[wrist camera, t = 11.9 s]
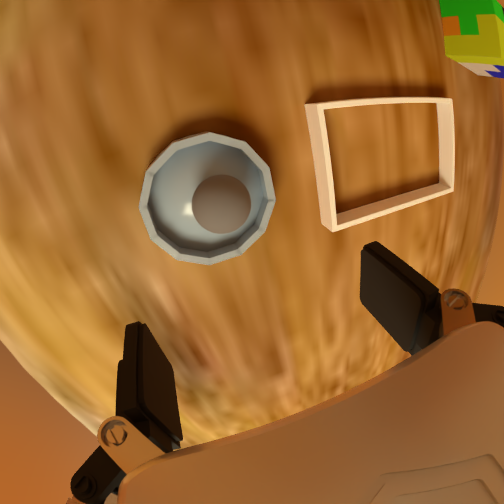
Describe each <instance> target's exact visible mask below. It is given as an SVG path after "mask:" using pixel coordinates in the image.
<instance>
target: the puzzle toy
mask: <svg viewBox="0 0 504 504" xmlns="http://www.w3.org/2000/svg"><path fill="white" fill-rule="evenodd" d="M439 3H440V9H441V16H442V23H443V32H444V42H445V55H446V56H447V57H449V58H451V59H453V60H454V61H456V62H458V63H460V64H461V65H463V66H465V67H466V68H468V69H469V70H471V71H473V72H474V73H476V74H477V75H482V76H491V77H498V78H504V8H503V7H502V6H501V5H500V4H499V3H498V2H497V1H496V0H439Z"/></svg>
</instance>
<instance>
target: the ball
mask: <svg viewBox="0 0 504 504" xmlns="http://www.w3.org/2000/svg"><path fill="white" fill-rule="evenodd" d="M250 211H251V198H250V194H249V192H248V190H247V188H246V186H245V185H244V184H243V183H242V182H241V181H240V180H238V179H237V178H235V177H232V176H229V175H223V174H222V175H214V176H211V177H209V178H207V179H205V180H204V181H202V182H201V183H200V184H199V185H198V187H197V188H196V190H195V192H194V194H193V197H192V212H193V215H194V217H195V219H196V221H197V222H198V223H199V224H200V225H201V226H202V227H203V228H204V229H206V230H207V231H210V232H212V233H217V234H225V233H230V232H233V231H235V230H237V229H238V228H240V227H241V226H242V225H243V224H244V223H245V221H246V220H247V218H248V216H249V214H250Z"/></svg>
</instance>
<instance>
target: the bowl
mask: <svg viewBox="0 0 504 504" xmlns="http://www.w3.org/2000/svg"><path fill="white" fill-rule="evenodd" d="M222 174H223V175H229V176H232V177H235V178H237V179H238V180H240V181H241V182H242V183H243V184H244V185H245V186H246V188H247V190H248V192H249V194H250V198H251V211H250V214H249V216H248V218H247V220H246V221H245V223H244V224H243V225H242V226H241V227H240V228H238V229H237V230H235V231H233V232H230V233H225V234H217V233H212V232H210V231H207V230H206V229H204V228H203V227H202V226H201V225H200V224H199V223H198V222H197V221H196V219H195V217H194V215H193V212H192V197H193V194H194V192H195V190H196V188H197V187H198V185H199V184H200V183H201V182H202V181H204V180H205V179H207V178H209V177H211V176H214V175H222ZM275 201H276V199H275V194H274V188H273V183H272V178H271V173H270V168H269V167H268V165H267V164H266V163H265V162H264V161H263V160H262V159H261V158H260V157H259V156H258V154H257V153H256V152H255V151H254V150H253V149H252V148H251V147H250V146H249V145H248V144H247V143H246V142H244V141H241V140H238V139H234V138H231V137H228V136H225V135H221V134H216V133H212V132H208V131H206V132H202V133H198V134H194V135H189V136H187V137H184V138H181V139H178V140H174V141H172V142H171V143H170V144H169V145H168V146H167V147H166V148H165V149H164V150H163V151H162V152H161V153H160V154H159V155H158V156H157V157H156V159H155V160H154V161H153V162H152V163H151V164H150V165H149V167H148V168H147V170H146V174H145V178H144V183H143V188H142V193H141V198H140V203H139V210H140V213H141V215H142V218H143V221H144V223H145V226H146V229H147V231H148V234H149V236H150V239H151V240H152V241H153V242H154V243H156V244H157V245H158V246H159V247H161V248H162V249H163V250H165V251H166V252H167V253H168V254H170V255H171V256H172V257H174V258H175V259H176V260H180V261H186V262H192V263H199V264H205V265H212V264H215V263H218V262H221V261H224V260H227V259H230V258H233V257H236V256H239V255H242V254H243V253H244V252H245V251H246V250H247V249H248V248H249V247H250V246H251V245H252V244H253V243H254V242H255V241H256V240H257V239H258V238H259V237H260V236H261V235H262V234H263V233H264V232H265V230H266V228H267V225H268V222H269V219H270V216H271V213H272V210H273V207H274V204H275Z"/></svg>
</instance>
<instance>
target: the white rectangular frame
mask: <svg viewBox="0 0 504 504" xmlns="http://www.w3.org/2000/svg"><path fill="white" fill-rule="evenodd" d="M388 103H437V113H438V129H439V183H437V184H434V185H430V186H427V187H424V188H420V189H417V190H414V191H410V192H407V193H404V194H400V195H397V196H394V197H390V198H387V199H384V200H381V201H377V202H374V203H371V204H367V205H364V206H361V207H358V208H354V209H351V210H348V211H345V212H341V213H338V214H336V206H335V195H334V185H333V176H332V167H331V159H330V151H329V144H328V137H327V130H326V123H325V117H324V111H323V109H331V108H339V107H349V106H359V105H372V104H388ZM304 105H305V110H306V116H307V121H308V127H309V133H310V140H311V146H312V153H313V159H314V166H315V174H316V181H317V189H318V197H319V206H320V215H321V224H322V225H324V226H325V227H326V228H328V229H329V230H330V231H332V232H335V231H338V230H341V229H344V228H347V227H350V226H353V225H356V224H359V223H362V222H365V221H368V220H371V219H374V218H377V217H380V216H383V215H386V214H388V213H391V212H394V211H397V210H400V209H403V208H406V207H409V206H412V205H415V204H418V203H421V202H424V201H427V200H430V199H432V198H435V197H438V196H441V195H444V194H447V193H450V192H453V190H454V166H455V139H454V116H453V103H452V99H450V98H442V97H375V98H358V99H346V100H336V101H326V102H318V103H310V104H304Z"/></svg>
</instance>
